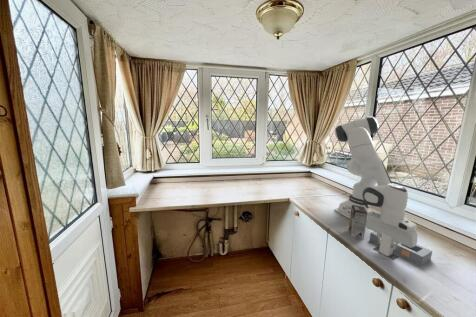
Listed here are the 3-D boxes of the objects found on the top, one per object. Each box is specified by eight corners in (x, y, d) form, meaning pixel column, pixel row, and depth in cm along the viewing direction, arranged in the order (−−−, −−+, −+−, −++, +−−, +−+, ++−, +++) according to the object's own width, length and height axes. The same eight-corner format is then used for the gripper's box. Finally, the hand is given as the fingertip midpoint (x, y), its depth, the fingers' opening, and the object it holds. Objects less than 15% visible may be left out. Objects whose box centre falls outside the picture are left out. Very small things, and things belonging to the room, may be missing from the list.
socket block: (368, 241, 107) (370, 232, 106) (379, 236, 112) (380, 228, 111) (420, 267, 88) (422, 257, 87) (430, 260, 93) (432, 251, 92)
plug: (378, 251, 97) (382, 231, 96) (383, 249, 99) (386, 229, 98) (387, 256, 94) (391, 235, 92) (392, 254, 96) (395, 233, 94)
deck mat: (372, 250, 99) (372, 249, 99) (378, 247, 102) (378, 246, 102) (393, 261, 92) (393, 259, 91) (398, 258, 94) (398, 257, 94)
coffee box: (347, 230, 118) (351, 204, 116) (360, 232, 116) (364, 206, 114) (350, 237, 110) (354, 210, 107) (363, 240, 108) (368, 212, 105)
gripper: (365, 210, 101) (361, 235, 103) (414, 230, 83) (409, 259, 86) (372, 208, 104) (368, 233, 106) (421, 226, 86) (415, 255, 89)
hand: (386, 245), depth 96 cm, fingers closed on plug, 4 cm apart
